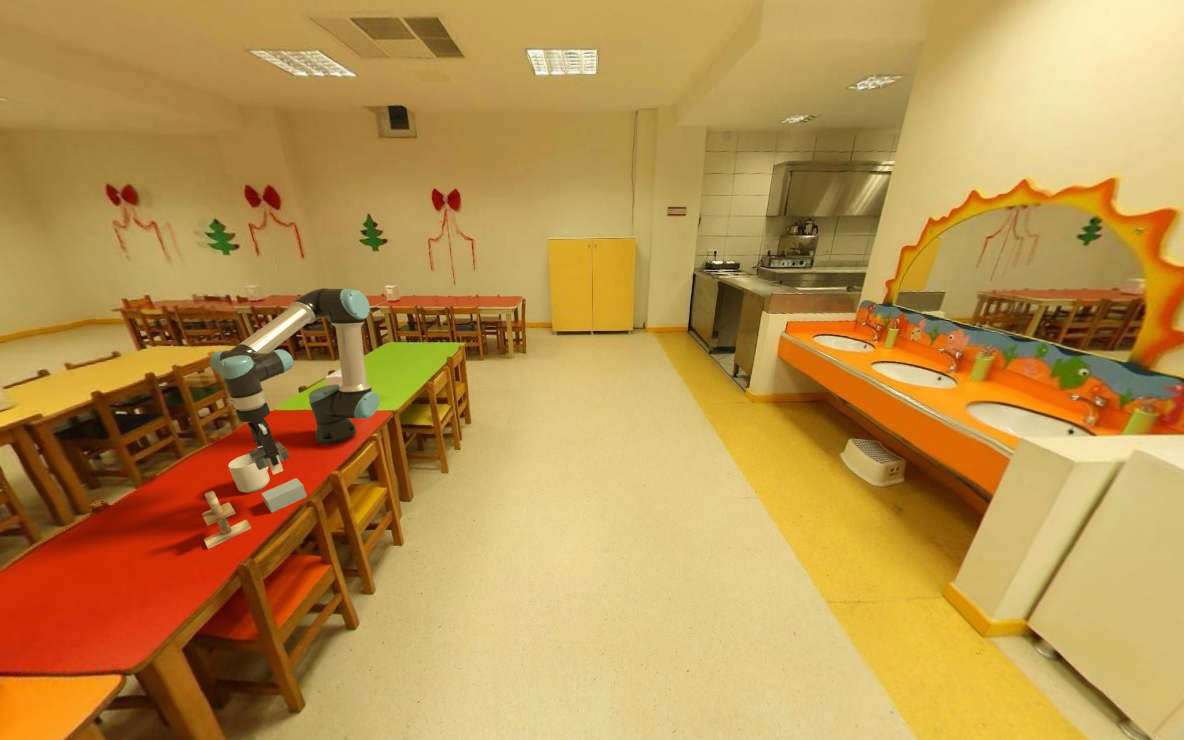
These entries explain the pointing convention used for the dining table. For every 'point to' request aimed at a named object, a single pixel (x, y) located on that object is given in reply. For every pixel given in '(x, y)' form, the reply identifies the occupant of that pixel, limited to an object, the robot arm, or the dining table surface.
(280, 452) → the c link
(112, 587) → the dining table surface
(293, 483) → the block
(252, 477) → the mug
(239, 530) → the stand
